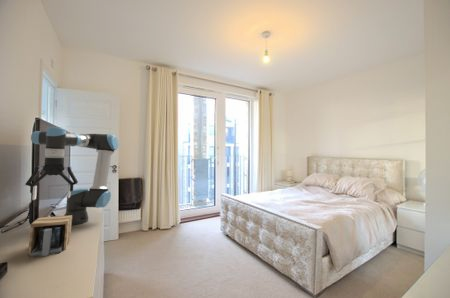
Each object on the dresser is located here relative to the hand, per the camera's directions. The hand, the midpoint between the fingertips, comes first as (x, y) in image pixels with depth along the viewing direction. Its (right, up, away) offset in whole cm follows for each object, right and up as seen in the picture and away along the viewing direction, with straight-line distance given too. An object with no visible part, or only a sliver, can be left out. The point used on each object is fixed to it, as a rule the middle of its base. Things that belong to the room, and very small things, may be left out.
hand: (52, 198), depth 100 cm
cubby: (-1, -26, +1) cm, 26 cm away
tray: (-1, -26, -1) cm, 26 cm away
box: (-1, -25, 0) cm, 25 cm away
